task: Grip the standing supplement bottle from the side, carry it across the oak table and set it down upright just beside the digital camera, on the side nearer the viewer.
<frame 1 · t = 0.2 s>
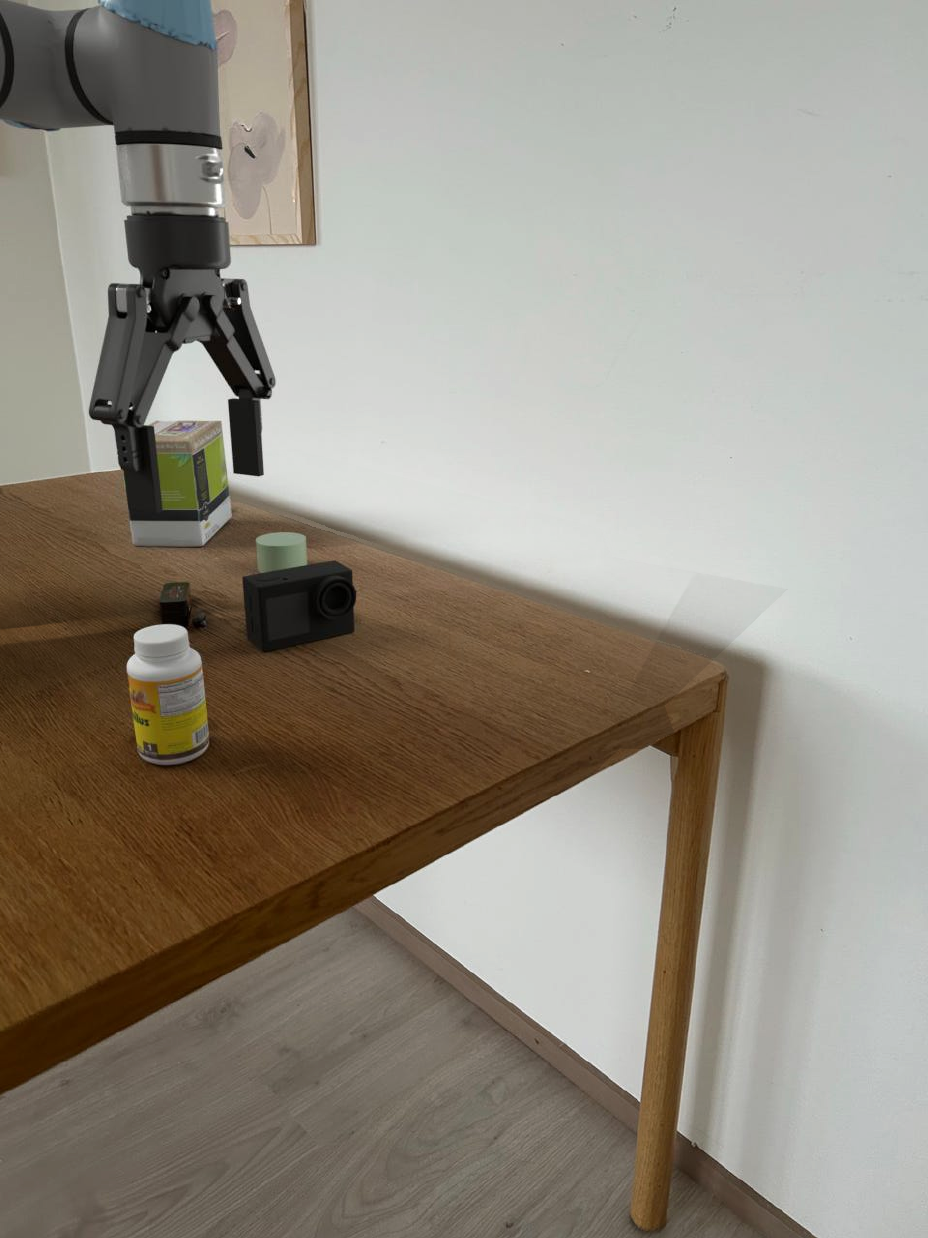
hand: (200, 491, 79), 19 cm above the table, tool pointing down, fingers open, 13 cm apart
pale green cylinder: (283, 578, 117), on the table
tea box: (184, 533, 136), on the table
digital camera: (303, 639, 99), on the table
supplement bottle: (174, 753, 76), on the table
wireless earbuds: (184, 623, 103), on the table
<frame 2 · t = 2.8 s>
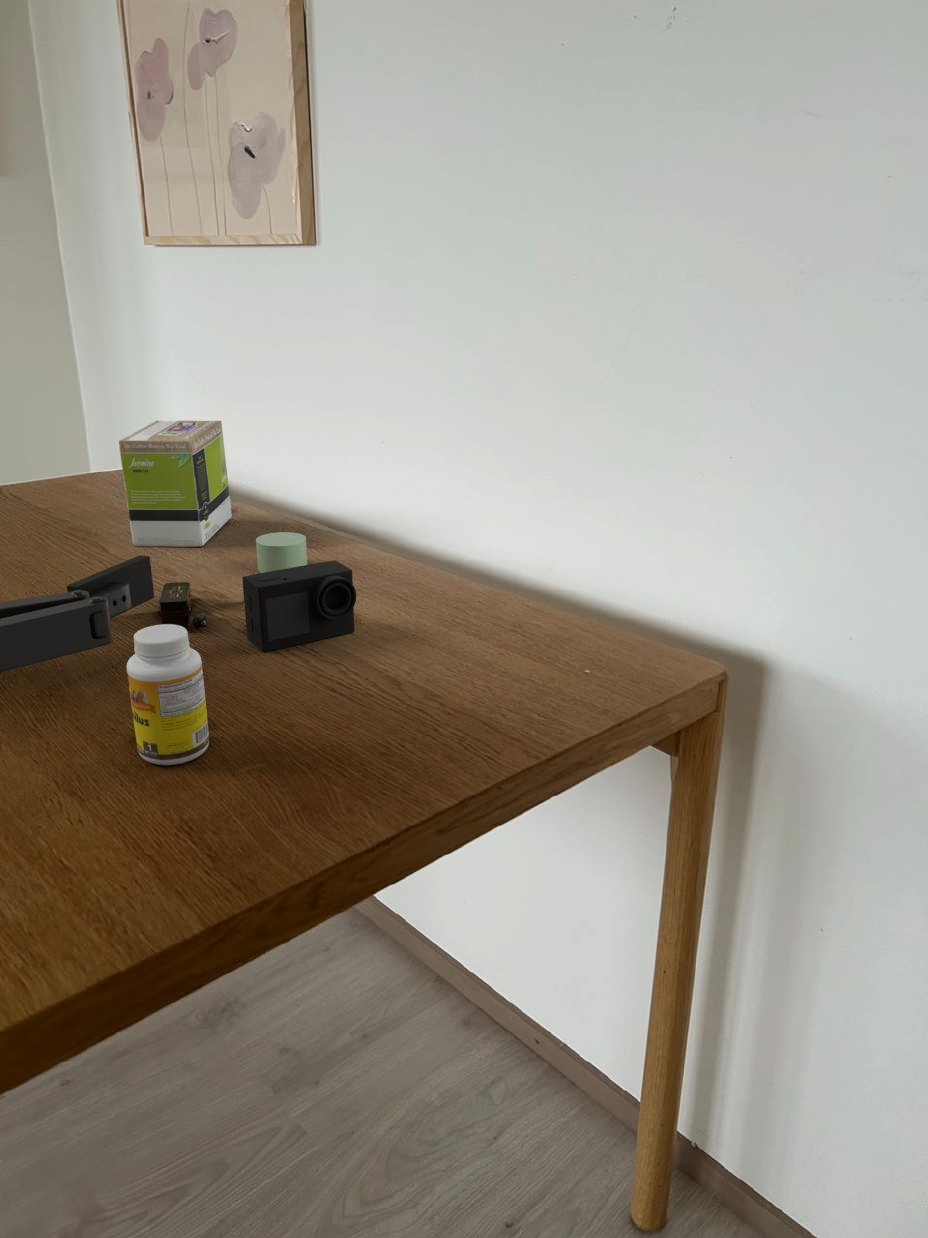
hand: (60, 565, 62), 18 cm above the table, tool horizontal, fingers open, 13 cm apart
nothing on the table moved.
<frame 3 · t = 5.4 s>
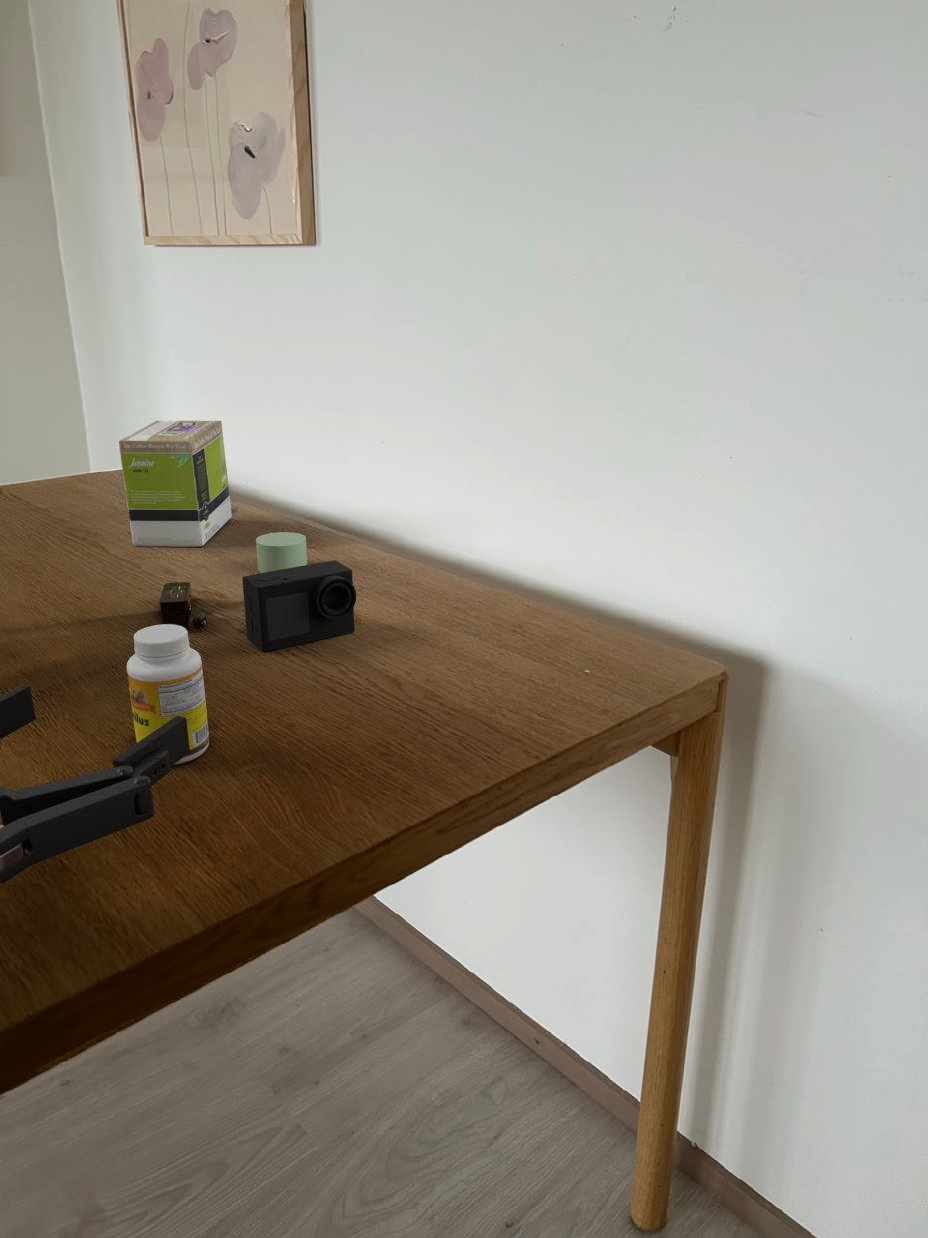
hand: (104, 717, 68), 6 cm above the table, tool horizontal, fingers open, 13 cm apart
nothing on the table moved.
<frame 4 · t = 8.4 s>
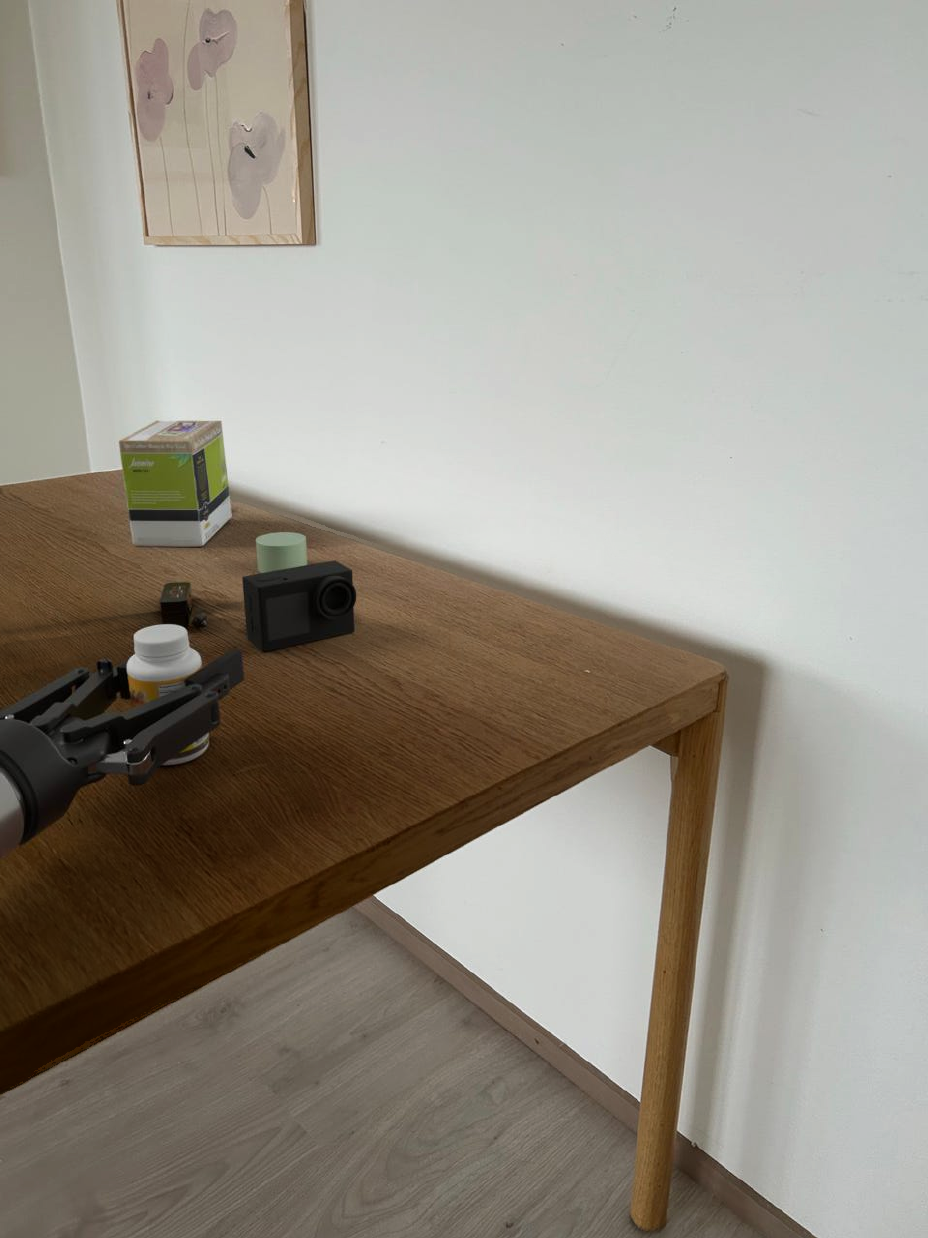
hand: (205, 658, 79), 6 cm above the table, tool horizontal, fingers closed on supplement bottle, 6 cm apart
supplement bottle: (174, 753, 76), on the table, touching gripper
everything else where it was.
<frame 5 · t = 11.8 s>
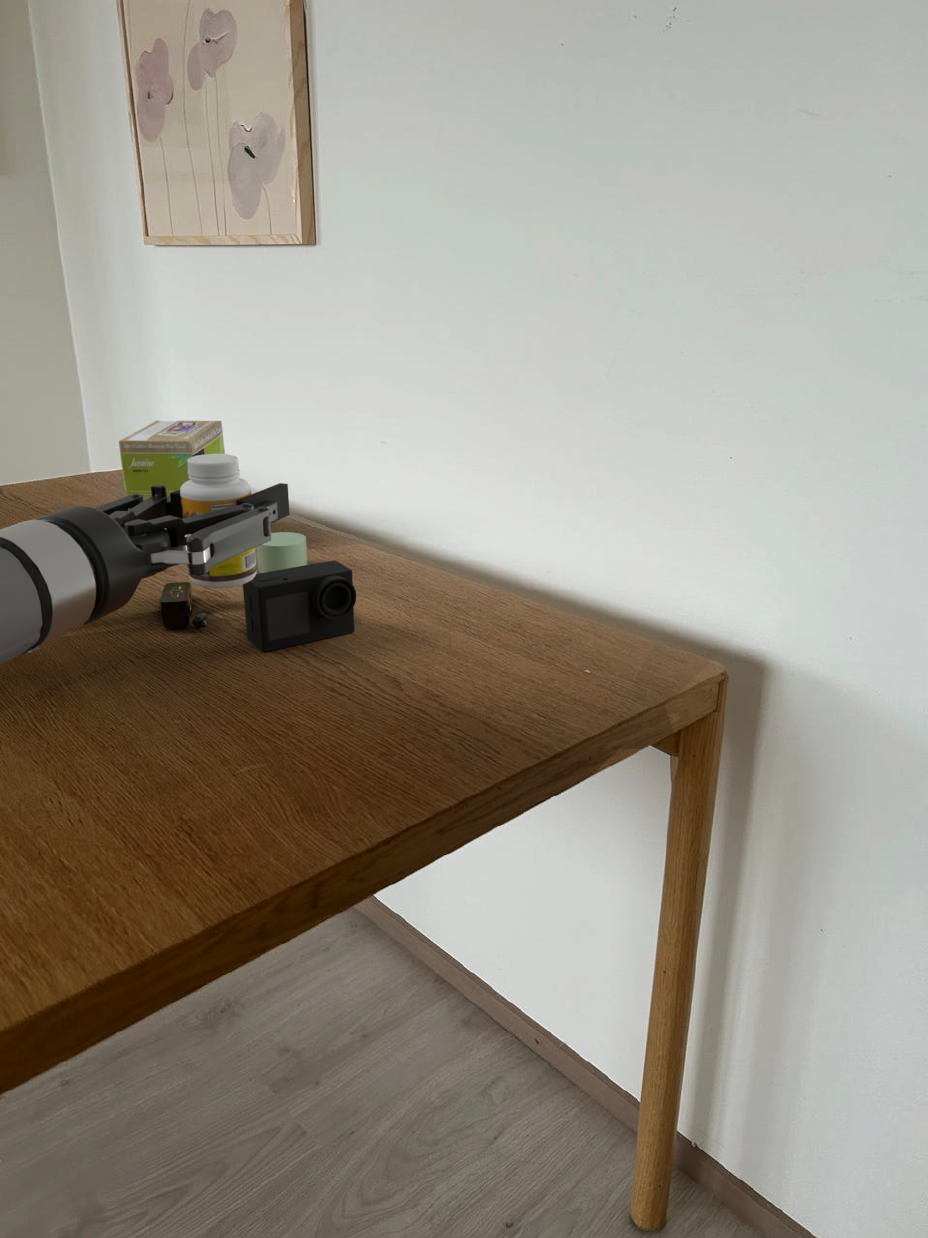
hand: (252, 495, 82), 18 cm above the table, tool horizontal, fingers closed on supplement bottle, 6 cm apart
supplement bottle: (223, 581, 80), point 12 cm above the table, touching gripper
everything else where it was.
when the fingers open (6 cm above the table, at t = 15.6 s): supplement bottle stays where it is, on the table.
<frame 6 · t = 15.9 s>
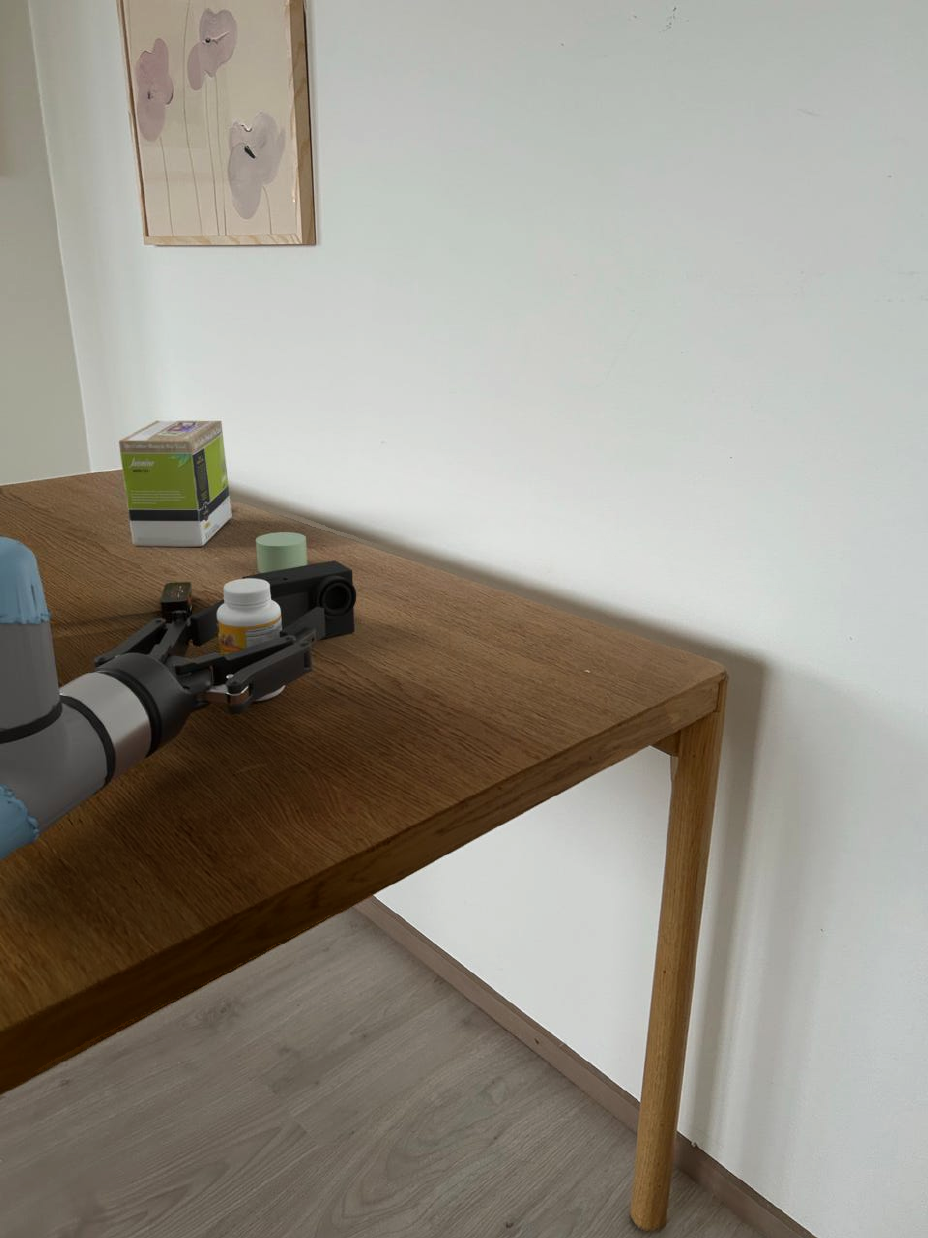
hand: (277, 614, 89), 6 cm above the table, tool horizontal, fingers open, 8 cm apart
supplement bottle: (255, 693, 87), on the table
everything else where it was.
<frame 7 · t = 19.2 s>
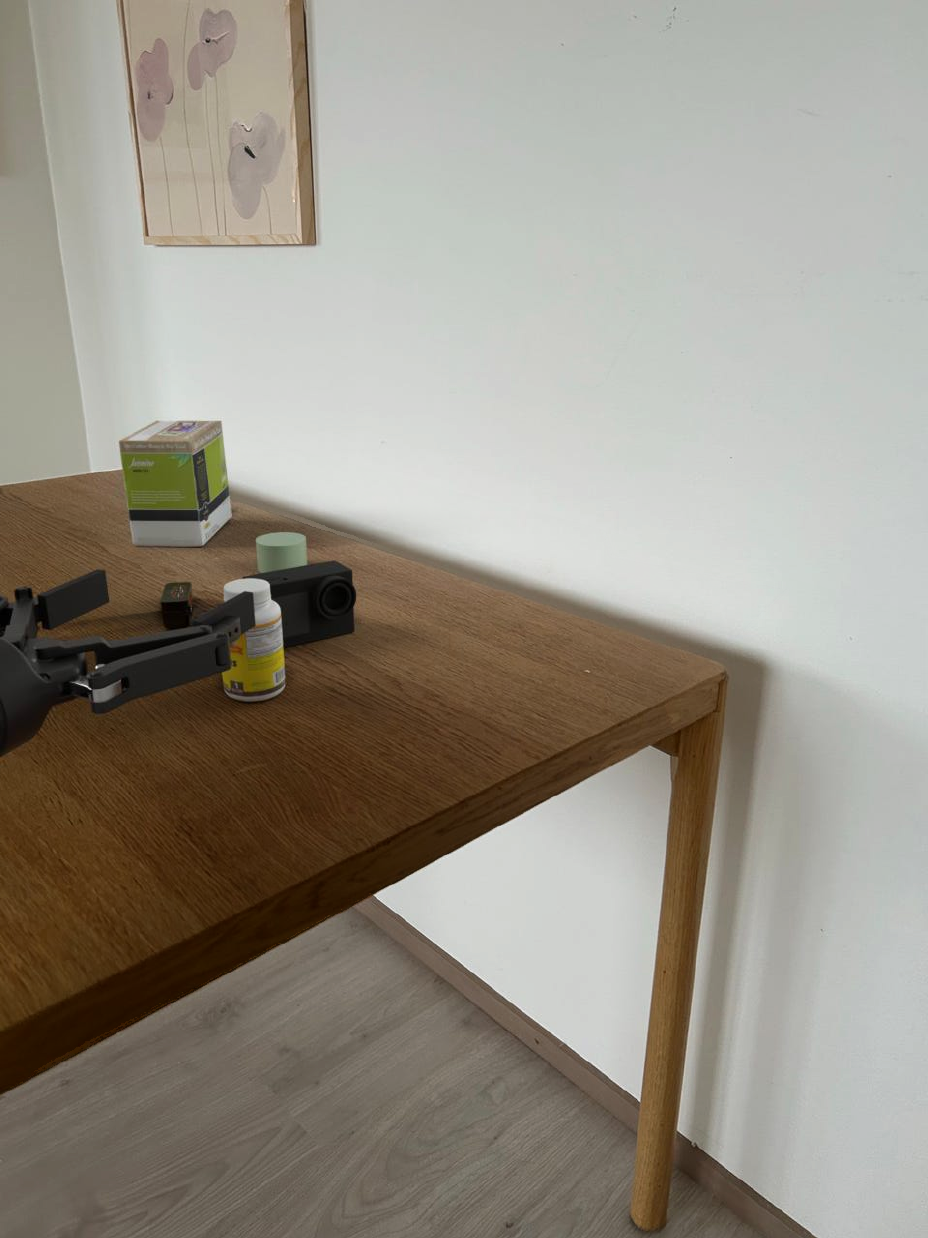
hand: (175, 596, 74), 12 cm above the table, tool horizontal, fingers open, 13 cm apart
nothing on the table moved.
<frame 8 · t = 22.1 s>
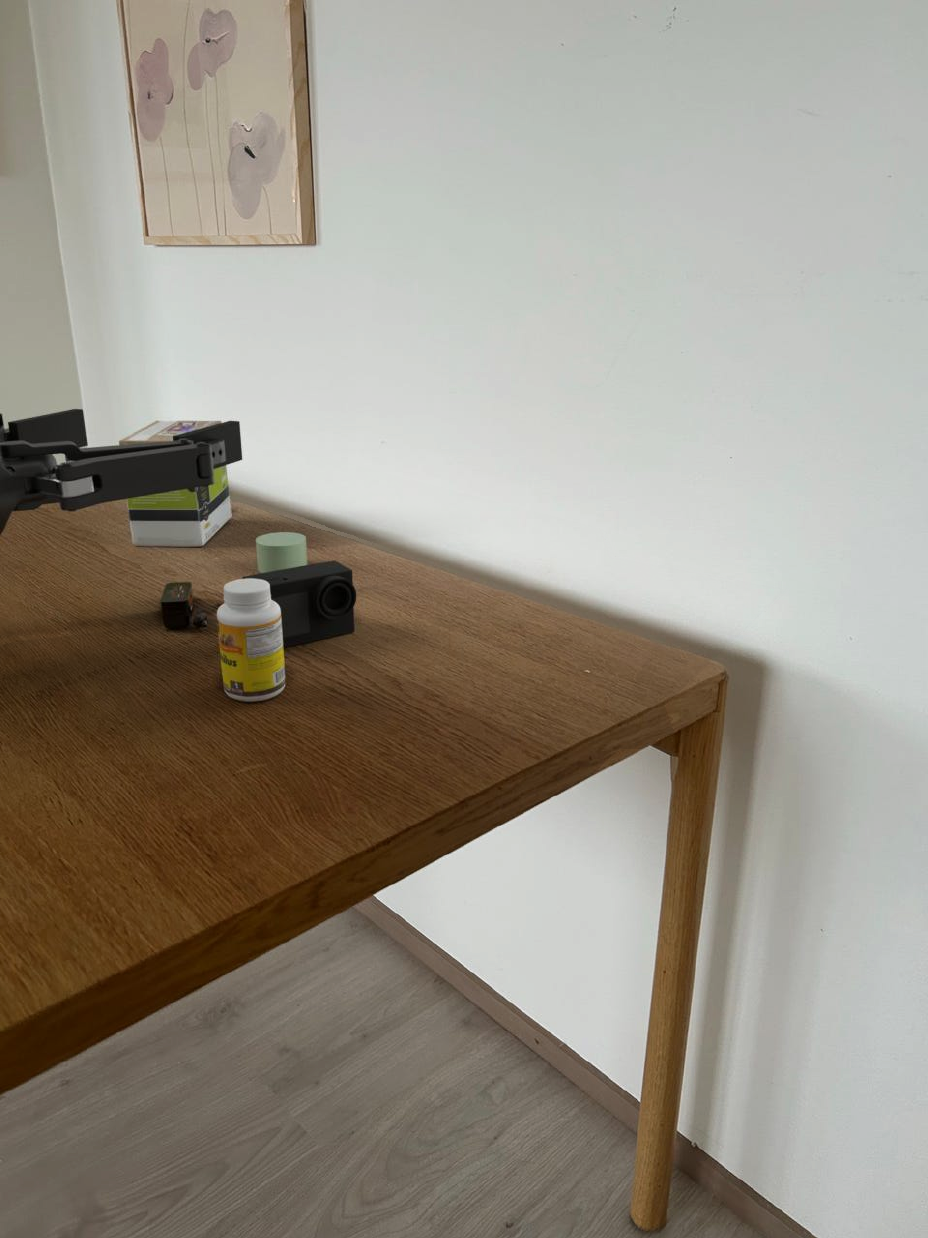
hand: (156, 433, 69), 25 cm above the table, tool horizontal, fingers open, 13 cm apart
nothing on the table moved.
at the end: supplement bottle inside the target area on the table beside the digital camera (0.0 cm from its centre), on the table; supplement bottle tilted 0°; the gripper is holding nothing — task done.
